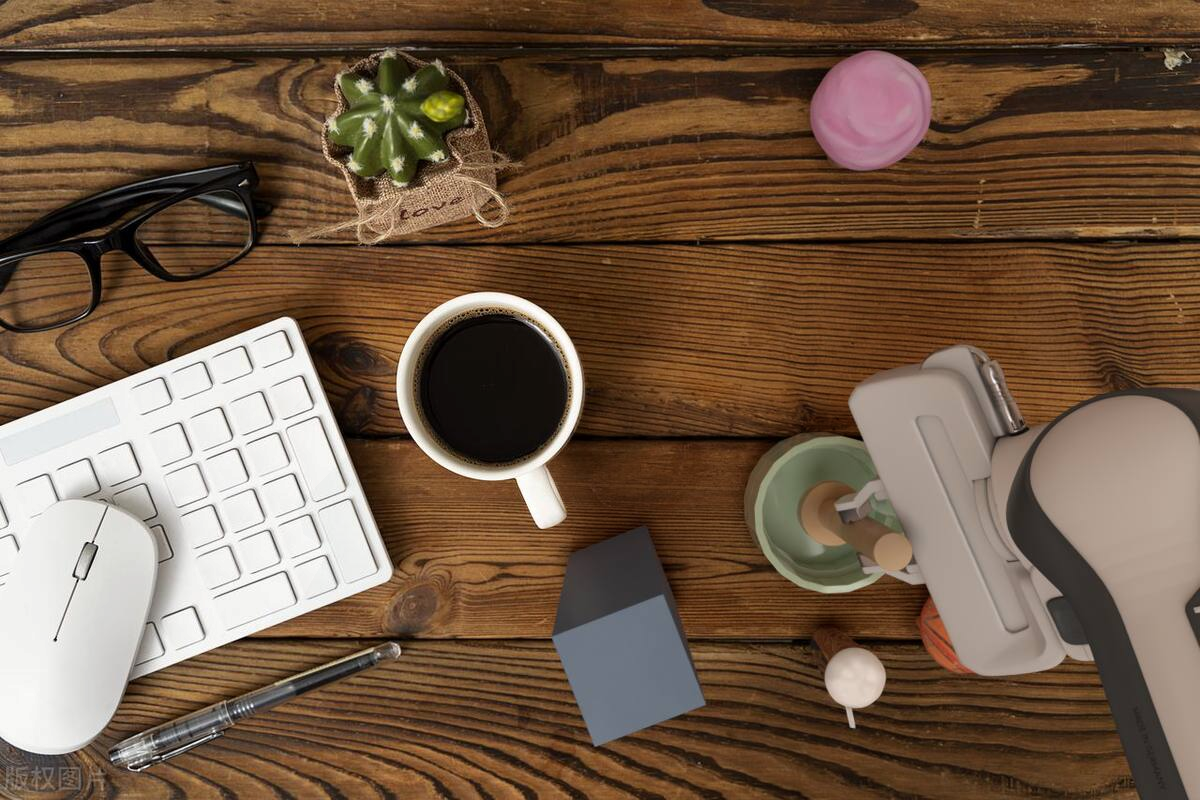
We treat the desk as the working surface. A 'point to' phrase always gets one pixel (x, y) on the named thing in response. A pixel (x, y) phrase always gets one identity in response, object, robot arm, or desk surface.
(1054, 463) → the robot arm
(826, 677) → the milkshake
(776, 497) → the bowl
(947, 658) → the pot
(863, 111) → the cupcake
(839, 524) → the wooden pestle
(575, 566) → the stand
